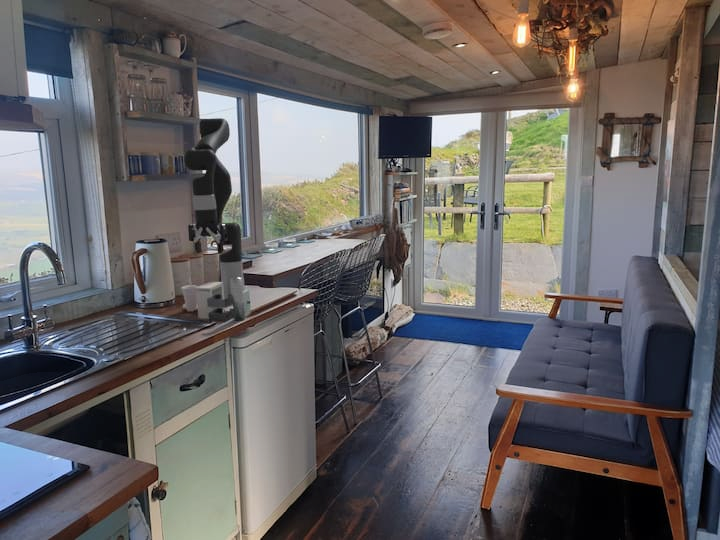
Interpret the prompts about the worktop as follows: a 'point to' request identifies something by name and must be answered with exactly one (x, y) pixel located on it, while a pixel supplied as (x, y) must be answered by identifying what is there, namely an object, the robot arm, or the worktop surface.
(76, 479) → the worktop surface
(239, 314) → the door
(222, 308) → the cabinet
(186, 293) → the smoothie
